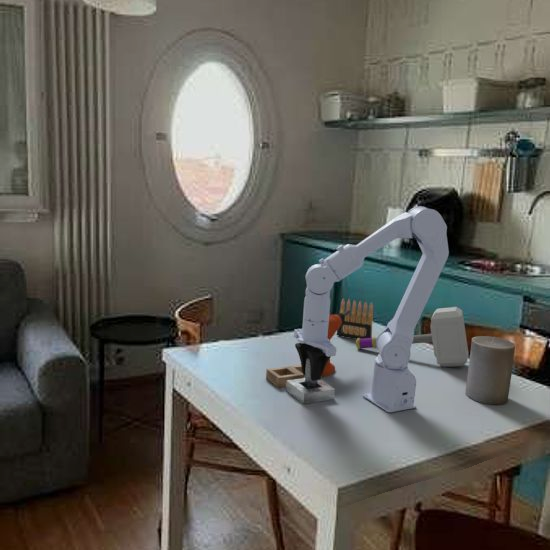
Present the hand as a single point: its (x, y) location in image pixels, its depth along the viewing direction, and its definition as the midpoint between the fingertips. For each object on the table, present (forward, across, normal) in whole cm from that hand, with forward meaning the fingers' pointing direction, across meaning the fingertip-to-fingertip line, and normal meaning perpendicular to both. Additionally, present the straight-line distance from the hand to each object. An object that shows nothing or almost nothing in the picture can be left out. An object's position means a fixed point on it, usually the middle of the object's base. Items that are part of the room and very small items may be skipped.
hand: (311, 376), depth 128 cm
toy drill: (+4, -14, +15) cm, 21 cm away
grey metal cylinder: (+3, 0, 0) cm, 3 cm away
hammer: (+5, -14, +41) cm, 44 cm away
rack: (+4, -9, +1) cm, 10 cm away
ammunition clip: (+5, -34, +37) cm, 50 cm away
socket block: (+4, 0, 0) cm, 4 cm away
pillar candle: (+5, +15, +40) cm, 43 cm away
